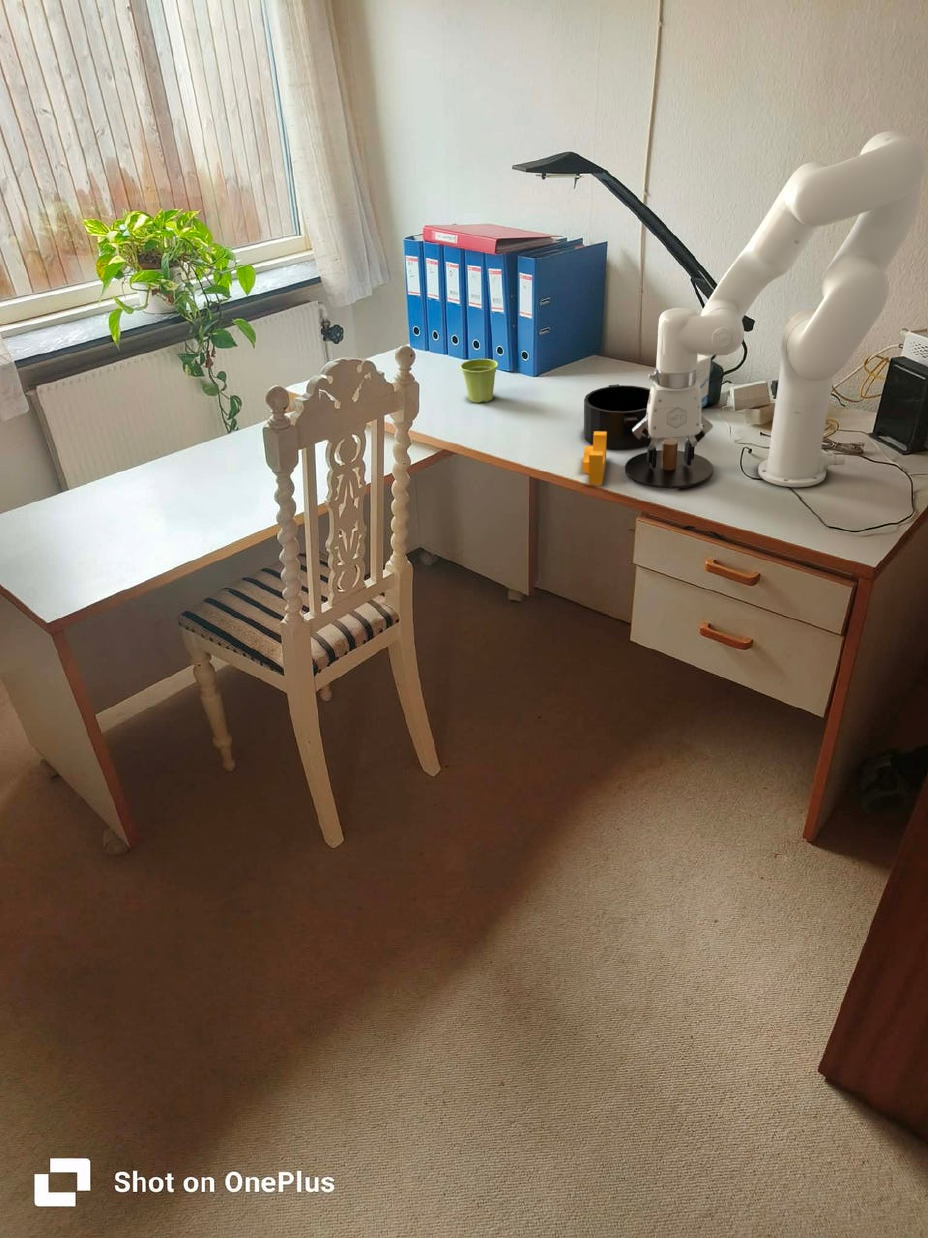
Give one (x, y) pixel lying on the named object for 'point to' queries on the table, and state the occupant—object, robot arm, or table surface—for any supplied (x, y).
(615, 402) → the pot
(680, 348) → the robot arm
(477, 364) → the plant pot
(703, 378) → the ink box
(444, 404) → the table surface
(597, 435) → the orange stepped block
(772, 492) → the table surface
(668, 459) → the lid
